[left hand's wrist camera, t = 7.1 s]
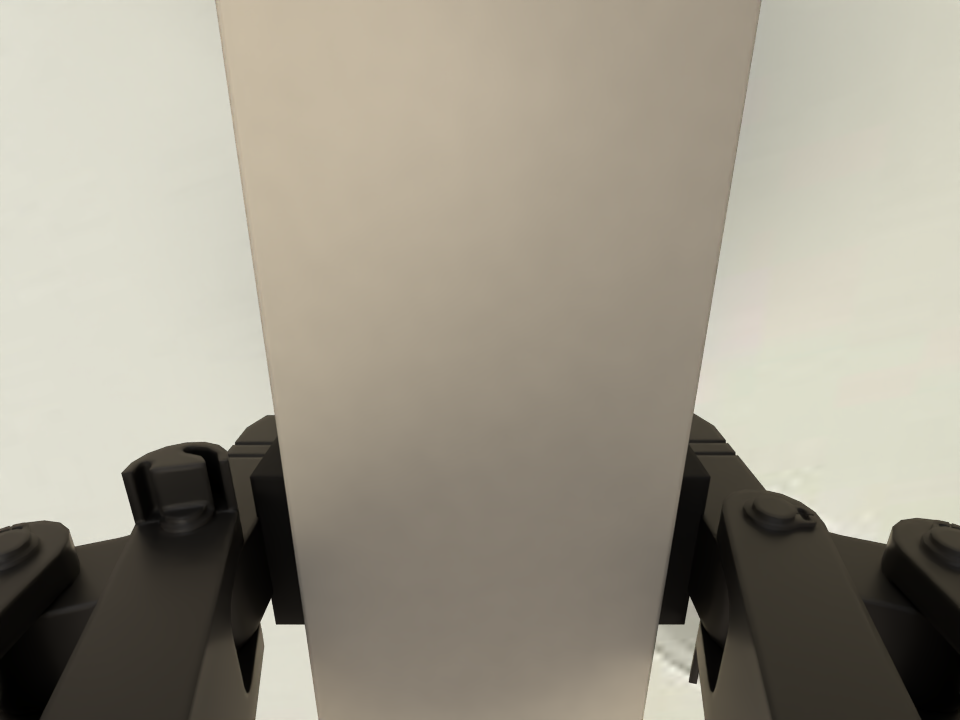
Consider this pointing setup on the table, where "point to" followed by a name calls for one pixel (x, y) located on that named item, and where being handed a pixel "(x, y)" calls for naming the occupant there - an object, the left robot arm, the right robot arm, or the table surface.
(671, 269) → the beam
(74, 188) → the table surface
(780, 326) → the table surface
